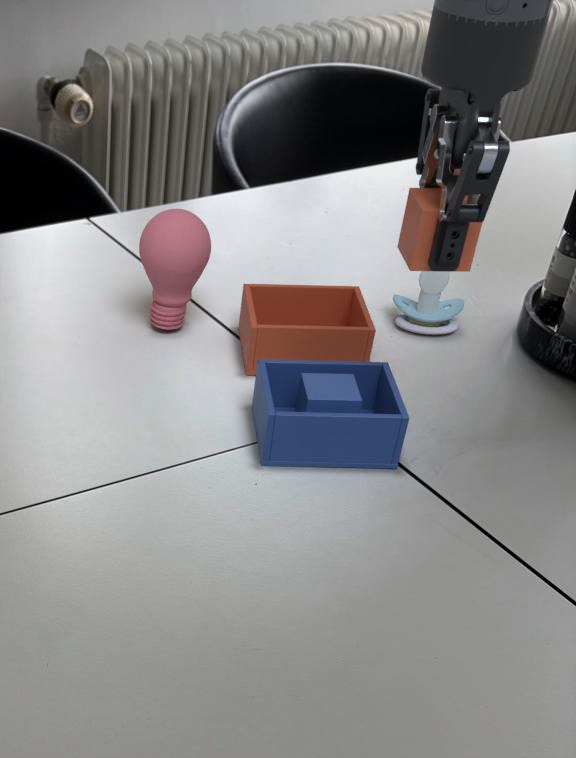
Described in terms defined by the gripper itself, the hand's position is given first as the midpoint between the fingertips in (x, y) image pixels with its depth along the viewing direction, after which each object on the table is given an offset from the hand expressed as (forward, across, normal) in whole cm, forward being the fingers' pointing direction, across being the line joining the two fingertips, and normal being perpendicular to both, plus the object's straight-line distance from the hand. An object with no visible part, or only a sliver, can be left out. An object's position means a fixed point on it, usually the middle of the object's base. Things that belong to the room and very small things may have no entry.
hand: (433, 254), depth 81 cm
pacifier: (+17, +24, -9) cm, 31 cm away
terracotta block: (0, 0, 0) cm, 0 cm away
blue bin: (+17, +1, +6) cm, 18 cm away
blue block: (+17, +1, +6) cm, 18 cm away
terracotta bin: (+17, +17, +6) cm, 25 cm away
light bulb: (+17, +22, +18) cm, 34 cm away
